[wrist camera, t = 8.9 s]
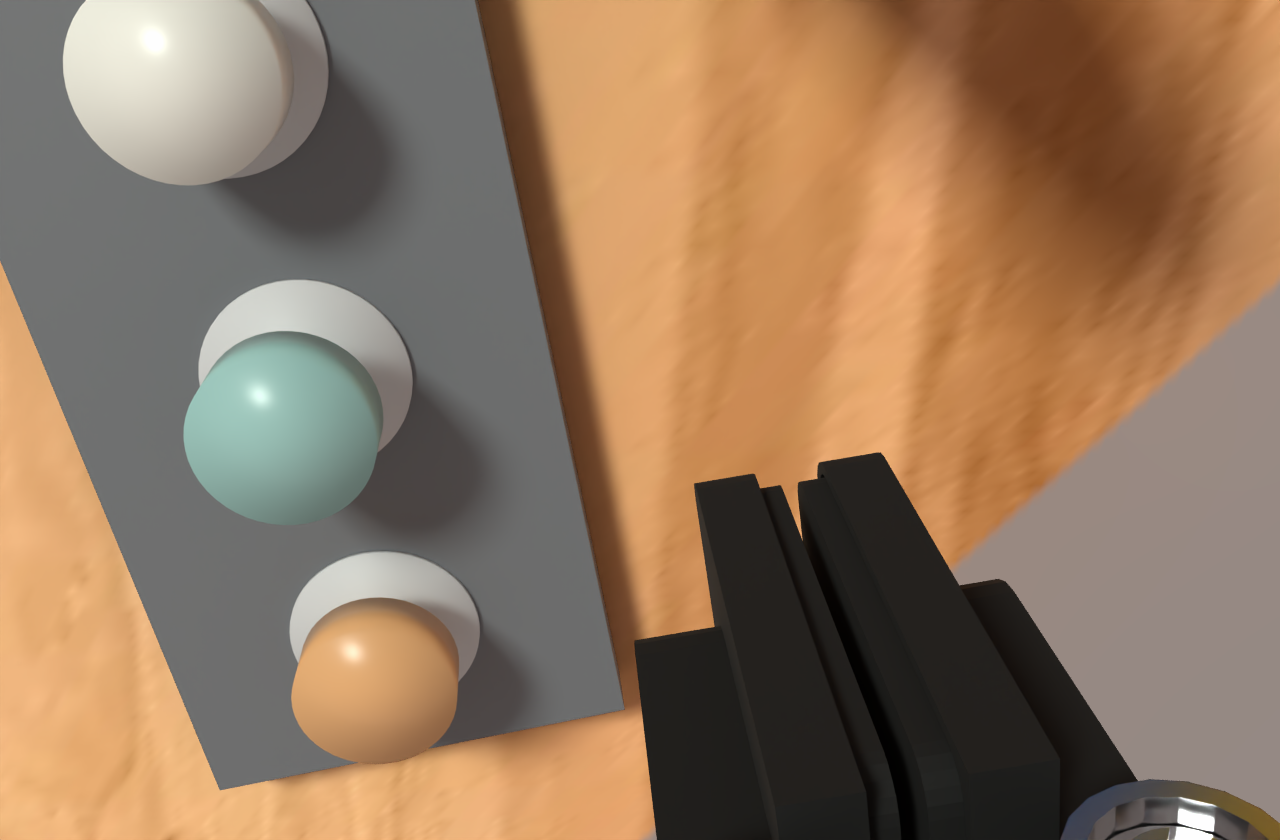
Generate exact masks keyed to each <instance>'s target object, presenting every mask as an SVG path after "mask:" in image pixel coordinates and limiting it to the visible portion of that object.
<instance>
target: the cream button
mask: <svg viewBox="0 0 1280 840" xmlns="http://www.w3.org/2000/svg"><path fill="white" fill-rule="evenodd" d="M63 74H64V80H65V86H66V90H67V93H68V96H69V100H70V102H71V105H72V107H73V109H74V112H75V114H76V116H77V117H78V119H79V121H80V123H81V124H82V126H83V128H84V129H85V130H86V132H87V133H88V134H89V136H90V137H91V138H92V139H93V141H94V142H95V143H96V144H97V145H98V146H99V147H100V148H101V149H102V150H103V151H104V152H105V153H107V154H108V155H109V156H110V157H111V158H112V159H114V160H115V161H117V162H118V163H119V164H121V165H122V166H124V167H125V168H127V169H129V170H131V171H133V172H135V173H137V174H139V175H141V176H144V177H146V178H149V179H151V180H155V181H159V182H163V183H167V184H174V185H201V184H208V183H212V182H216V181H220V180H222V179H225V178H227V177H230V176H232V175H234V174H235V173H237V172H239V171H241V170H242V169H244V168H245V167H246V166H247V165H249V164H250V163H251V162H252V161H253V160H254V159H255V158H256V157H257V156H258V155H259V154H260V153H261V152H262V151H263V150H264V149H265V148H266V147H267V145H268V144H269V143H270V142H271V141H272V140H273V139H274V138H275V137H276V135H277V134H278V132H279V131H280V129H281V128H282V126H283V124H284V122H285V120H286V118H287V116H288V113H289V110H290V107H291V103H292V98H293V92H294V72H293V64H292V59H291V54H290V51H289V48H288V45H287V42H286V40H285V38H284V36H283V33H282V31H281V29H280V27H279V26H278V24H277V23H276V21H275V20H274V18H273V16H272V15H271V14H270V13H269V11H268V10H267V9H266V8H265V6H264V5H263V4H262V3H261V2H260V1H259V0H86V1H85V2H84V3H83V4H82V5H81V7H80V8H79V10H78V11H77V13H76V15H75V16H74V18H73V20H72V22H71V25H70V27H69V29H68V32H67V36H66V40H65V44H64V53H63Z"/></svg>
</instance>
